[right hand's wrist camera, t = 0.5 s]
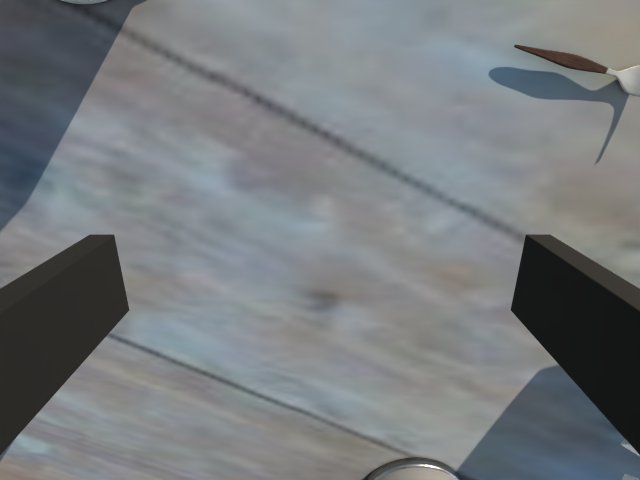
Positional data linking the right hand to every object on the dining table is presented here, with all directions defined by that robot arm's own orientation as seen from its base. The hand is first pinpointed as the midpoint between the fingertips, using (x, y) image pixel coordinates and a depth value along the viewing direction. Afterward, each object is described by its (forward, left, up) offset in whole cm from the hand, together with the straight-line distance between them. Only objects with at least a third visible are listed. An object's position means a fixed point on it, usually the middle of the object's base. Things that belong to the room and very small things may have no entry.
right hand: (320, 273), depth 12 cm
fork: (+8, -25, -28) cm, 39 cm away
